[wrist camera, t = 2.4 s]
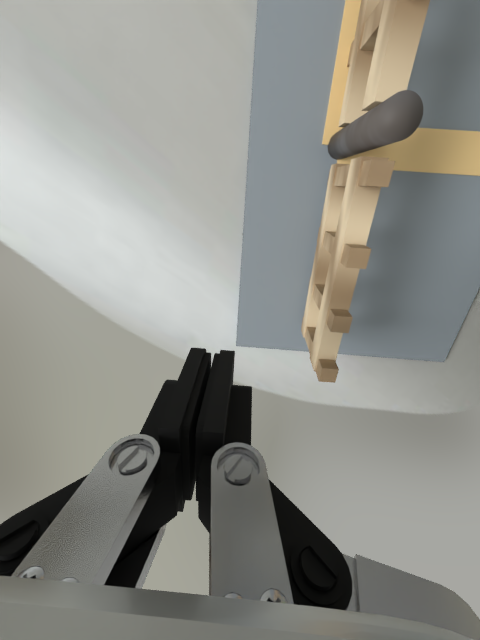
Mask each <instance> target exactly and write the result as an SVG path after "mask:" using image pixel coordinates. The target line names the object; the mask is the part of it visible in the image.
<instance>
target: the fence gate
mask: <svg viewBox="0 0 480 640" xmlns="http://www.w3.org/2000/svg"><path fill="white" fill-rule="evenodd" d="M388 159H389V158H382V157H367V156H361V157H358V158H354V159H351V163H350V164H337V163H336V164H333V165H331V169H330V171H329V177H328V182H327V191H326V197H325V202H324V208H323V213H322V219H321V224H320V227H319V232H318V238H317V246H316V252H315V257H314V263H313V268H312V274H311V277H310V282H309V287H308V289H309V290H308V296H307V301H306V306H305V312H304V317H303V320H302V326H301V332H302V335H303V338H305V340H306V343H307V346H308V349H309V352H310V360H311V363H312V366H313V369H314V371H316V374H317V377H318V380H319V381H322V382H335V381H336V377H337V374H338V370H339V369H338V367H337V365H336V358H337V354H338V350H339V346H340V342H341V339H342V335H343V333H349V330H350V326H351V322H352V319H353V317H352V316H351V314H350V313H349V308H350V304H351V300H352V297H353V293H354V289H355V285H356V281H357V278H358V274H359V270H360V269H366V267H367V264H368V260H369V256H370V253H371V248H369V247H367V246H366V243H367V239H368V236H369V232H370V228H371V224H372V220H373V217H374V213H375V209H376V205H377V201H378V197H379V194H380V190H381V187H389V183H390V179H391V176H392V172H393V168H394V165H395V161H388Z"/></svg>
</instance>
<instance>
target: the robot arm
mask: <svg viewBox="0 0 480 640" xmlns="http://www.w3.org/2000/svg"><path fill="white" fill-rule="evenodd" d="M234 355H235V351H226V350H221V351H220V354H217V353H215V355H214V359H213V363H212V367H211V353H206V349H201V348H191V350H190V352H189V354H188V357H187V359H186V362H185V364H184V366H183V369H182V371H181V374H180V376H179V379H178V381H176V380H166V381H165V383H164V384H163V386H162V389H161V391H160V393H159V395H158V397H157V399H156V401H155V403H154V405H153V407H152V409H151V411H150V413H149V416H148V418H147V420H146V422H145V424H144V426H143V428H142V430H141V432H140V434H135V435H129V436H127V437H124V438H121V439H120V440H118V441H117V442H115V443H114V444H113V445H112V446H111V447H110V448H109V449H108V450H107V451H106V452H105V454H104V455H103V456H102V458H101V459H100V460H99V462H98V463H97V464H96V466H95V467H94V468H93V469H92V471H91V472H90V473H89V474H88V475H87V476H85V477H83V478H81V479H79V480H77V481H76V482H74V483H72V484H70V485H68V486H66V487H65V488H63V489H61V490H59V491H57V492H56V493H54V494H52V495H50V496H48V497H46V498H45V499H43V500H41V501H39V502H37V503H35V504H34V505H32V506H30V507H28V508H26V509H25V510H23V511H21V512H19V513H17V514H15V515H14V516H12V517H11V518H9V519H8V520H6V521H5V522H3V523H2V524H0V640H480V619H479V618H478V617H477V615H476V614H475V613H474V611H473V610H472V609H471V607H470V606H469V605H468V604H467V603H466V602H465V601H464V600H463V599H462V598H461V597H459V596H458V595H457V594H456V593H455V592H453V591H452V590H450V589H448V588H446V587H444V586H442V585H440V584H437V583H434V582H432V581H429V580H426V579H423V578H421V577H418V576H415V575H412V574H410V573H407V572H404V571H401V570H398V569H396V568H393V567H390V566H387V565H385V564H382V563H379V562H376V561H373V560H371V559H368V558H365V557H362V556H360V555H357V554H356V555H355V557H354V558H352V557H350V556H347V555H344V554H342V553H341V552H340V551H339V550H338V548H337V547H336V546H335V545H334V544H333V543H332V542H331V541H330V540H329V539H328V538H327V537H326V536H325V535H324V534H323V533H322V532H321V531H320V530H319V529H318V528H317V527H316V526H315V525H314V524H313V523H312V522H311V521H310V520H309V519H308V518H307V517H306V516H305V515H304V514H303V513H302V512H301V511H300V510H299V509H298V508H297V507H296V506H295V505H294V504H293V503H292V502H291V501H290V500H289V499H288V498H287V497H286V496H285V495H284V494H283V493H282V492H281V491H280V490H279V489H278V488H277V487H276V486H275V485H274V484H273V483H272V482H271V481H270V480H269V479H268V474H267V469H266V464H265V461H264V459H263V456H262V455H261V454H260V452H259V451H258V450H257V449H255V448H254V447H252V446H251V407H252V406H251V405H252V402H251V401H252V387H251V386H238V385H233V372H234ZM195 481H196V501H198V506H199V507H198V510H199V512H198V513H199V519H200V520H201V522H202V523H203V525H204V526H205V527H206V529H207V530H208V532H209V596H207V595H198V594H188V593H177V592H167V591H157V590H146V589H142V586H143V584H144V582H145V579H146V577H147V574H148V572H149V569H150V567H151V564H152V562H153V559H154V557H155V554H156V552H157V549H158V547H159V545H160V542H161V540H162V537H163V535H164V532H165V528H166V523H168V522H169V521H170V520H171V519H172V518H174V517H175V516H177V512H178V511H180V512H183V508H184V503H185V500H191V499H192V495H193V491H194V485H195Z"/></svg>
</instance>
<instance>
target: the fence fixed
mask: <svg viewBox="0 0 480 640" xmlns="http://www.w3.org/2000/svg"><path fill="white" fill-rule="evenodd" d="M429 3H430V0H361V5H360V10H359V16H358V21H357V27H356V32H355V38H354V40H353V42H352V43H351V47H350V52H349V58H348V63H347V67H349V71H348V76H347V82H346V87H345V93H344V98H343V104H342V109H341V115H340V120H339V126H338V127H344V128H342V129H341V130H339V131H338V132H336V133H335V134H334V135H333V136H332V137H331V139H330V141H329V144H328V153H329V155H330V156H331V157H332V158H333V159H336V160H340V159H344V158H347V157H350V156H353V155H357V154H360V153H363V152H366V151H369V150H373V149H376V148H379V147H382V146H386V145H389V144H392V143H395V142H398V141H402V140H404V139H406V138H408V137H409V136H411V135H412V134H413V133H414V132H415V131H416V129H417V128H418V126H419V125H420V122H421V120H422V117H423V102H422V100H421V98H420V96H419V95H418V94H417V93H416V92H414V91H411V90H407V87H408V83H409V79H410V75H411V71H412V68H413V64H414V60H415V56H416V52H417V49H418V45H419V41H420V37H421V33H422V29H423V26H424V22H425V18H426V14H427V10H428V7H429Z"/></svg>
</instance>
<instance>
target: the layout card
mask: <svg viewBox="0 0 480 640" xmlns="http://www.w3.org/2000/svg"><path fill="white" fill-rule="evenodd" d="M360 5H361V0H258V3H257V19H256V35H255V51H254V67H253V83H252V99H251V115H250V131H249V147H248V163H247V179H246V195H245V211H244V227H243V243H242V259H241V275H240V291H239V307H238V323H237V339H236V346H243V347H256V348H269V349H282V350H295V351H308V352H309V349H308V346H307V343H306V340H305V338H303V335H302V332H301V326H302V320H303V317H304V312H305V306H306V301H307V296H308V290H309V289H308V287H309V282H310V277H311V274H312V268H313V263H314V257H315V252H316V246H317V238H318V232H319V227H320V224H321V219H322V213H323V208H324V202H325V197H326V191H327V182H328V177H329V171H330V169H331V165H333V164H336V163H337V164H350V163H351V159H354V158H358V157H361V156H367V157H382V158H389V159H388V161H395V165H394V168H393V172H392V176H391V179H390V183H389V187H381V190H380V194H379V197H378V201H377V205H376V209H375V213H374V217H373V220H372V224H371V228H370V232H369V236H368V239H367V243H366V246H367V247H369V248H371V253H370V256H369V260H368V264H367V267H366V269H360V270H359V274H358V278H357V281H356V285H355V289H354V293H353V297H352V300H351V304H350V308H349V313H350V314H351V316H352V317H353V319H352V322H351V326H350V330H349V333H343V335H342V339H341V342H340V346H339V350H338V354H347V355H359V356H372V357H385V358H398V359H411V360H424V361H437V362H444V361H445V359H446V357H447V355H448V353H449V351H450V349H451V346H452V344H453V342H454V340H455V338H456V336H457V334H458V332H459V330H460V328H461V326H462V323H463V321H464V319H465V317H466V315H467V313H468V311H469V309H470V307H471V305H472V303H473V300H474V298H475V296H476V294H477V292H478V290H479V288H480V0H430V3H429V7H428V10H427V14H426V18H425V22H424V26H423V29H422V33H421V37H420V41H419V45H418V49H417V52H416V56H415V60H414V64H413V68H412V71H411V75H410V79H409V83H408V87H407V90H411V91H414V92H416V93H417V94H418V95H419V96H420V98H421V100H422V102H423V117H422V120H421V122H420V125H419V126H418V128H417V129H416V131H415V132H414V133H413V134H412V135H411V136H409V137H408V138H406V139H404V140H402V141H398V142H395V143H392V144H389V145H386V146H382V147H379V148H376V149H373V150H369V151H366V152H363V153H360V154H357V155H353V156H350V157H347V158H344V159H340V160H336V159H333V158H332V157H331V156H330V155H329V153H328V144H329V141H330V139H331V137H332V136H333V135H334V134H335V133H336V132H338V131H339V130H341V129H342V128H344V127H338V126H339V120H340V115H341V109H342V104H343V98H344V93H345V87H346V82H347V76H348V71H349V67H347V63H348V58H349V52H350V47H351V43H352V42H353V40H354V38H355V32H356V27H357V21H358V16H359V10H360Z"/></svg>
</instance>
